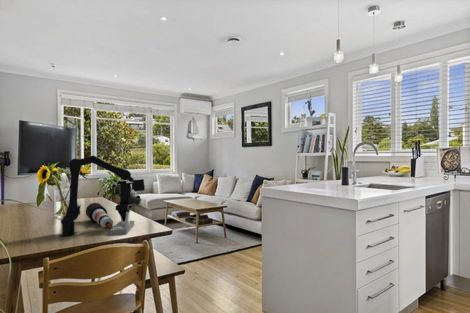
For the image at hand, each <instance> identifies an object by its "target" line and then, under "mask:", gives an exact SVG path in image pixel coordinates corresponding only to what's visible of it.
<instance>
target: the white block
mask: <svg viewBox="0 0 470 313" xmlns="http://www.w3.org/2000/svg"><path fill="white" fill-rule="evenodd" d="M120 221H121V224H129V223H130V221H131V211H130V212H127V213H126V219H125V221H123V220H122V218H121V217H120Z"/></svg>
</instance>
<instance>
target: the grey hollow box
mask: <svg viewBox="0 0 470 313" xmlns="http://www.w3.org/2000/svg"><path fill="white" fill-rule="evenodd" d="M134 226H135V220H130V223H129V224H121V220H120V221H119V222H117V223H116V224H115V225H114V226H112V228H110V230H109V235H110V236H123V235H126V236H127V235H128V234H129V232H130V231H131V230H132V229H133V228H134Z"/></svg>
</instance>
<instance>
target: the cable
mask: <svg viewBox="0 0 470 313" xmlns="http://www.w3.org/2000/svg"><path fill="white" fill-rule="evenodd" d="M85 214H86V216H87V217H88V218H89V220H90V221H91V222H93V223H95V224H96V223H97V225H99V226H100V227H102V228H109V229H112V228H113V225H114V221H113V219H112V218H111V217H110V216H109V214H108V211H107V208H105V207H104V206H102V204H100V203H99V202H94V203H90V204H89V205H88V206H87V207H86V209H85Z"/></svg>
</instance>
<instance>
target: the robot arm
mask: <svg viewBox="0 0 470 313" xmlns="http://www.w3.org/2000/svg"><path fill="white" fill-rule="evenodd" d="M90 164H94V165H97V167H101V169H102V168H103V169H104V170H107V171H108V172H111V173H112V174H113V175H115V176H117V177H118V178H120V179H121V180H120V179H118V181H117V182H115V184H116V185H118V186H119V194H118V197H119V202H118V203H117V204H116V205H115V211H117V213H118V214H119V216H120V219H121V218H122V220H123V221H125V219H126V213H127V212H130V213H131V208H132V207H133V206H134V205H136V206H140V204H141V202H142V198H141V195H138V194H137V195H136V196H133V194H132V193H131V191H133V192H145V190H146V186H145V180H144V179H142V178H141V179H134V178H133V177H132V176H131V175H132V174H131V172H130V171H129V170H128V169H125V168H121V167H118V166H115V165H113V164H111V163H109V162H107V161H105V160H103V159H101V158H99V157H97V156H96V155H90V156H87V157H84V158H83V157H82V158H81V159H79V158H73V159H70V161H69V162H68V167H69V172H70V183H69V184H70V186H69V187H70V188H69V198H68V199H69V201H68V205H67V209H66V212H65V215H64V216H63V218H62V219H61V220H60V223H61V234H59V237H70V236H75V235H76V234H77V233H78V231H75V230H76V228H75V227H76V226H75V221H76V220H77V219H78V217H79V216H80V215H81V204H79V203H78V198H79V196H78V194H79V182H80V181H79V179H80V173H81V170H82V167H83V166H87V165H90ZM127 181H128V182H127Z"/></svg>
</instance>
